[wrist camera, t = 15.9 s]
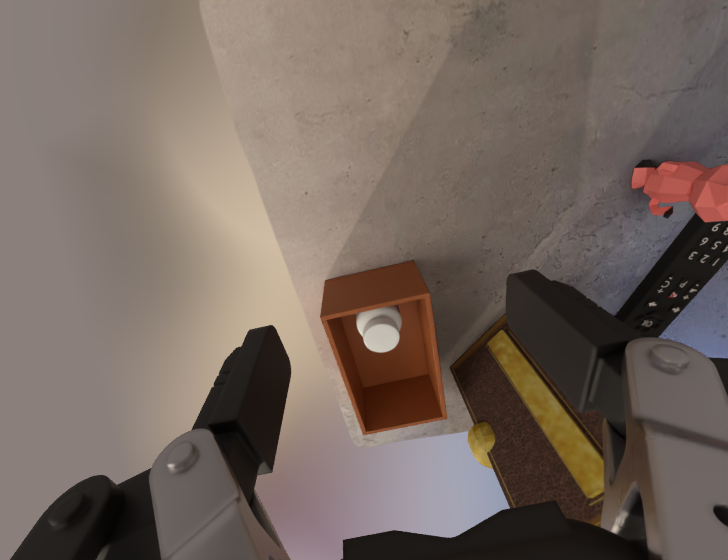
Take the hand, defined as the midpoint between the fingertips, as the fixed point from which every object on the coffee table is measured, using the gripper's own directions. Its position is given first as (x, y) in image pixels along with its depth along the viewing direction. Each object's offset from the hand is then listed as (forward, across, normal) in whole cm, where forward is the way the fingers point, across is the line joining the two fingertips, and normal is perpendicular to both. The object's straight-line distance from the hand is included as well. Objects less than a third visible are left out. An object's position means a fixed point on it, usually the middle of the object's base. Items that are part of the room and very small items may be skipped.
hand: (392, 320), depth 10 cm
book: (+26, -17, +29) cm, 43 cm away
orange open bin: (+27, 0, +22) cm, 35 cm away
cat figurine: (+26, -35, +8) cm, 44 cm away
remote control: (+26, -40, +26) cm, 55 cm away
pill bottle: (+26, +1, +15) cm, 30 cm away
